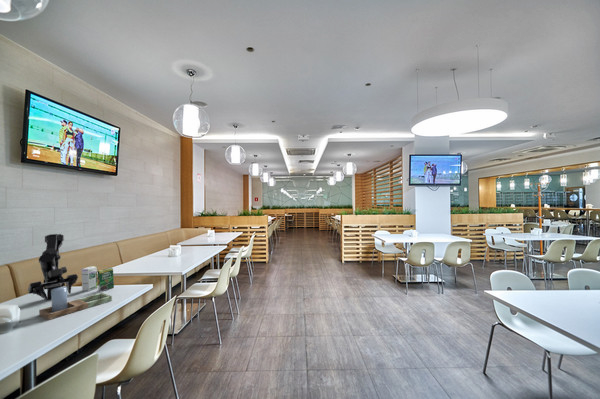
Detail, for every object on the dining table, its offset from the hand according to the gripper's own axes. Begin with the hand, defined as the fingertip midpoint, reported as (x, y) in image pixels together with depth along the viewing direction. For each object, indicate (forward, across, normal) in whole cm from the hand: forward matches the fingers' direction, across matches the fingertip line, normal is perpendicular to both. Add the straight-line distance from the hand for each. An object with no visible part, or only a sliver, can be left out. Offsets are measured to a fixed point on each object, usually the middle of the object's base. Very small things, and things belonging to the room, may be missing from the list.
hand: (58, 296), depth 134 cm
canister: (+6, 0, +6) cm, 9 cm away
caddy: (+6, +8, +5) cm, 11 cm away
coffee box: (-8, +29, +20) cm, 36 cm away
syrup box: (-15, +24, +27) cm, 39 cm away
